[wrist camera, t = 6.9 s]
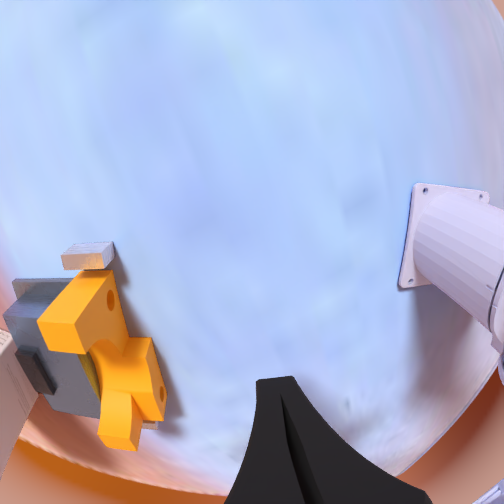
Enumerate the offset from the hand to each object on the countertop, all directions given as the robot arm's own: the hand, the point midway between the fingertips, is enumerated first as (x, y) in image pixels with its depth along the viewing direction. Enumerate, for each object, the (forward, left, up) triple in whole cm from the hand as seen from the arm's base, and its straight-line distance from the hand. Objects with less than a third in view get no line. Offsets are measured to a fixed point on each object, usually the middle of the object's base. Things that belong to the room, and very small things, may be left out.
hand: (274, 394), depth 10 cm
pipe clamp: (+10, +5, -10) cm, 14 cm away
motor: (+14, +5, -9) cm, 17 cm away
